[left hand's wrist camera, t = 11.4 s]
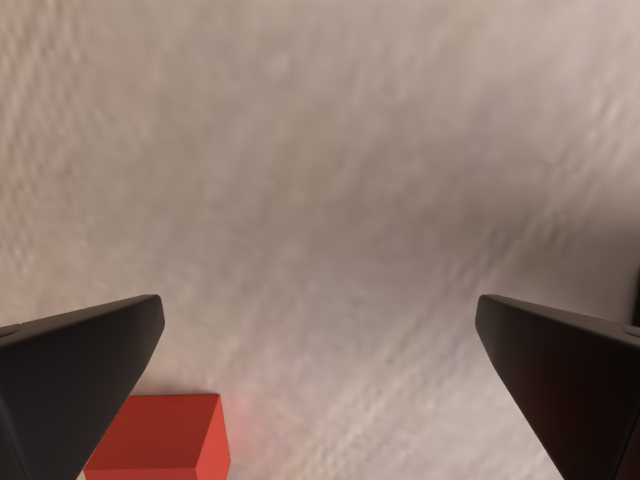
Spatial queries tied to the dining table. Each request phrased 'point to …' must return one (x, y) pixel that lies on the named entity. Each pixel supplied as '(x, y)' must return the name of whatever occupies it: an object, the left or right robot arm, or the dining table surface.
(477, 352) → the dining table surface
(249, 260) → the dining table surface
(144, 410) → the red cube
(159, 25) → the dining table surface
